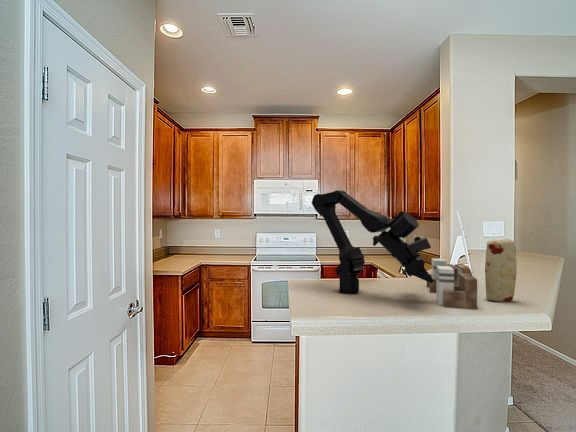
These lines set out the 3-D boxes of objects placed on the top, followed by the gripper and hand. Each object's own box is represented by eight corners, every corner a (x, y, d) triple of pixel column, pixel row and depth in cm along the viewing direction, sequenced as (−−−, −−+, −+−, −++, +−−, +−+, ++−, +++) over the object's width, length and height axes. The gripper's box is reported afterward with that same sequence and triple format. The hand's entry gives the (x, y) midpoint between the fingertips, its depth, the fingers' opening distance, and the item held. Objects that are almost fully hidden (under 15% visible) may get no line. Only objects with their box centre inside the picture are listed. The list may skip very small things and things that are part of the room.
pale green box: (433, 291, 118) (433, 260, 117) (431, 287, 123) (431, 258, 123) (446, 292, 116) (446, 261, 116) (443, 288, 122) (443, 258, 122)
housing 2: (444, 308, 99) (444, 278, 99) (438, 299, 108) (438, 272, 108) (477, 310, 97) (477, 279, 96) (468, 301, 106) (468, 273, 106)
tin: (474, 292, 117) (474, 268, 117) (464, 292, 118) (464, 268, 118) (460, 283, 132) (460, 262, 132) (452, 283, 133) (452, 262, 132)
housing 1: (430, 293, 116) (430, 267, 116) (426, 287, 126) (426, 263, 125) (457, 295, 114) (457, 268, 114) (452, 288, 123) (452, 264, 123)
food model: (494, 304, 102) (494, 239, 102) (478, 298, 109) (479, 238, 108) (522, 303, 103) (522, 239, 103) (505, 297, 110) (505, 237, 110)
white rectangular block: (439, 305, 101) (439, 269, 101) (436, 299, 107) (436, 265, 107) (454, 306, 100) (454, 269, 100) (450, 300, 106) (450, 266, 106)
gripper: (417, 230, 97) (459, 269, 94) (411, 227, 114) (446, 260, 112) (389, 256, 99) (429, 295, 96) (388, 249, 117) (421, 282, 114)
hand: (432, 281), depth 104 cm, fingers closed
